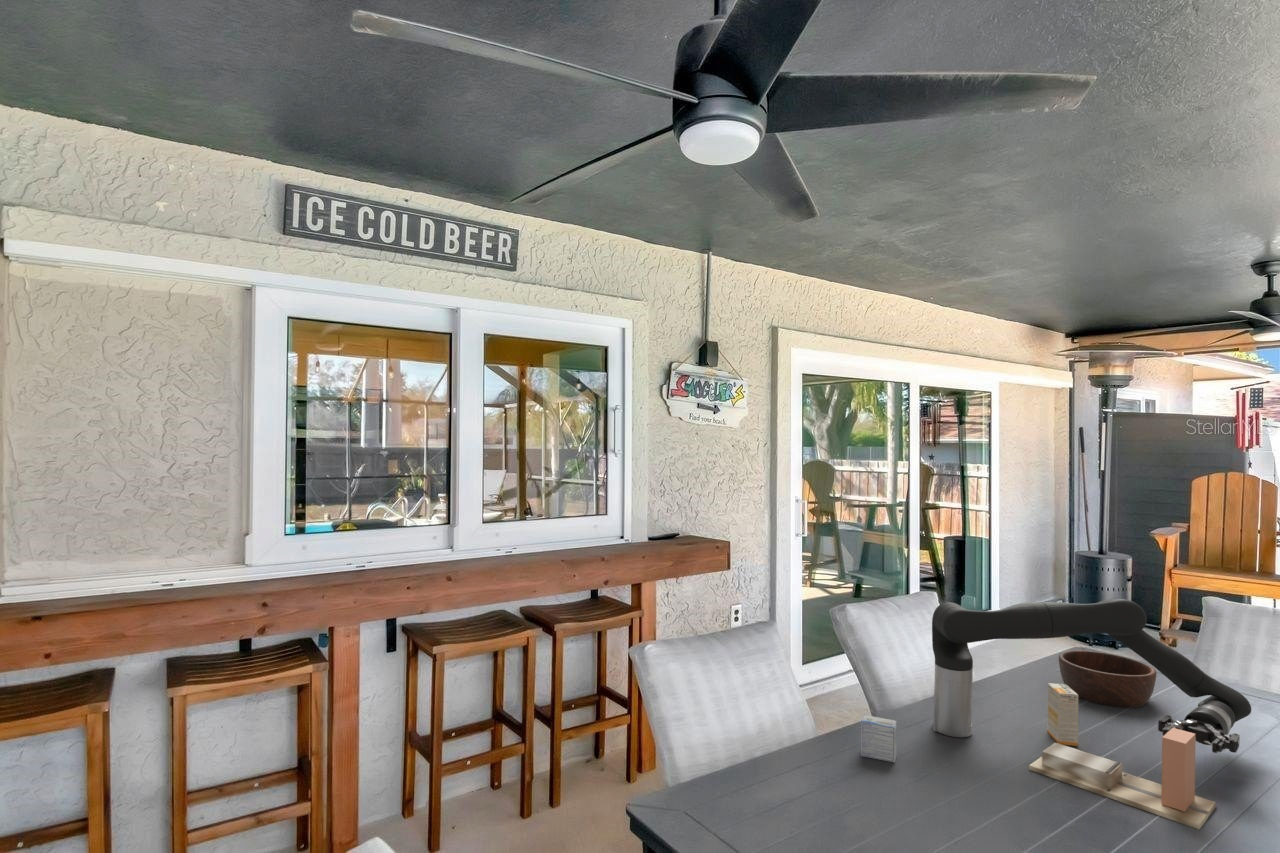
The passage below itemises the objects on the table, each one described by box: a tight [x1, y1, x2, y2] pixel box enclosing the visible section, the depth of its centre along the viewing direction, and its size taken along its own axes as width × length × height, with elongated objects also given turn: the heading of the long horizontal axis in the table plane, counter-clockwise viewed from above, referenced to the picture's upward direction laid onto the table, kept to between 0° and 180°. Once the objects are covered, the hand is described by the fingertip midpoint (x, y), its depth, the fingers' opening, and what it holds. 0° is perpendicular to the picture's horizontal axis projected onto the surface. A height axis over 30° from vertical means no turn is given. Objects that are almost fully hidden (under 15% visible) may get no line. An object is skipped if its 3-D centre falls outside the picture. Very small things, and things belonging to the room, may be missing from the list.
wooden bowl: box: [1058, 649, 1157, 708], centre depth 216 cm, size 25×25×10 cm
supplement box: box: [1046, 682, 1079, 747], centre depth 184 cm, size 8×5×13 cm, turn 168°
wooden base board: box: [1028, 742, 1217, 830], centre depth 158 cm, size 32×14×4 cm, turn 40°
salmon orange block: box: [1161, 727, 1196, 812], centre depth 150 cm, size 4×8×14 cm, turn 130°
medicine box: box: [860, 715, 898, 763], centre depth 171 cm, size 8×4×9 cm, turn 65°
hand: (1190, 741), depth 157 cm, fingers open, 8 cm apart
